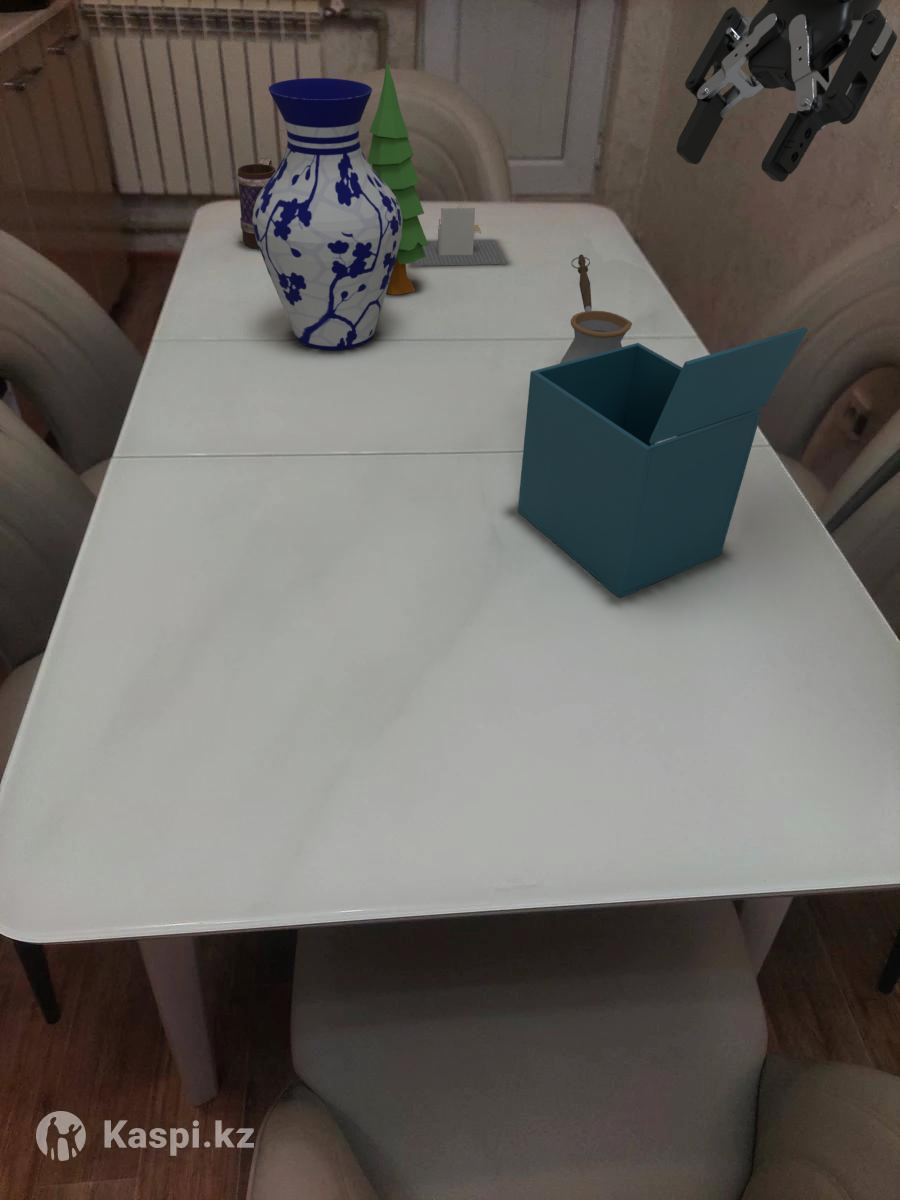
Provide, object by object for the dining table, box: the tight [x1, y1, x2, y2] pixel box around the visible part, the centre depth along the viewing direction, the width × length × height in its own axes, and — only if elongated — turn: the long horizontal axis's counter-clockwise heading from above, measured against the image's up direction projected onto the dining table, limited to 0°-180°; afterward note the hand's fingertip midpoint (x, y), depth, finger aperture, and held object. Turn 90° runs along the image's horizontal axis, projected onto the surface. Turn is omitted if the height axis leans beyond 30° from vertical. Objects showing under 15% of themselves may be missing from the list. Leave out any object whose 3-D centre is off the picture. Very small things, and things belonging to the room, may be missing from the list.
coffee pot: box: [559, 254, 633, 364], centre depth 104 cm, size 21×12×15 cm, turn 2°
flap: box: [649, 326, 809, 444], centre depth 70 cm, size 8×13×1 cm
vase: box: [252, 77, 403, 351], centre depth 113 cm, size 19×19×30 cm
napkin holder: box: [436, 204, 482, 256], centre depth 147 cm, size 3×7×7 cm, turn 98°
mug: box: [237, 157, 276, 250], centre depth 148 cm, size 10×7×12 cm
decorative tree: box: [367, 61, 429, 296], centre depth 127 cm, size 10×9×30 cm
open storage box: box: [517, 342, 762, 599], centre depth 84 cm, size 16×13×16 cm
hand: (726, 166), depth 64 cm, fingers open, 8 cm apart
